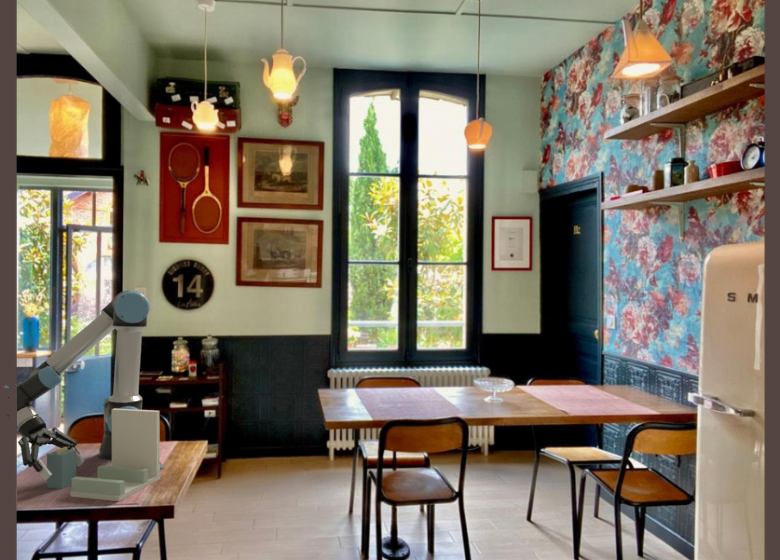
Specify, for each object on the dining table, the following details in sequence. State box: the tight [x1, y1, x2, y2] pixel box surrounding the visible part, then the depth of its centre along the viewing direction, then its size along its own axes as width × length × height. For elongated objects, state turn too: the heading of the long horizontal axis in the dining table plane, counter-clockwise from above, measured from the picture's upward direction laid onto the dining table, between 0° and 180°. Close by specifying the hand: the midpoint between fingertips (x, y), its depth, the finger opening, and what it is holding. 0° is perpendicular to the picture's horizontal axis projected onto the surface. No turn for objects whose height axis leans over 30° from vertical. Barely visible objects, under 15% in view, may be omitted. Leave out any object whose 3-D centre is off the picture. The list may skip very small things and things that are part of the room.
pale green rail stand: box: [69, 409, 161, 502], centre depth 182 cm, size 20×18×24 cm
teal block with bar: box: [46, 446, 77, 490], centre depth 185 cm, size 6×6×12 cm
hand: (65, 470), depth 185 cm, fingers open, 13 cm apart
